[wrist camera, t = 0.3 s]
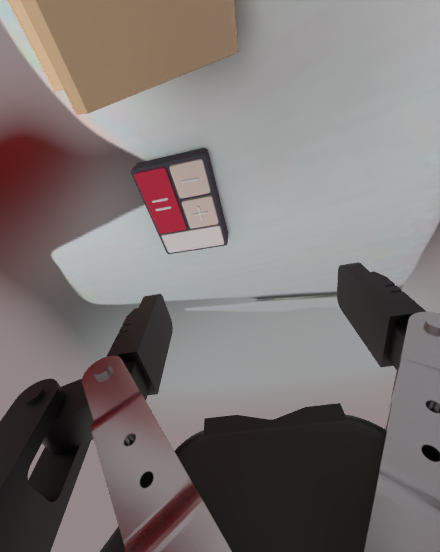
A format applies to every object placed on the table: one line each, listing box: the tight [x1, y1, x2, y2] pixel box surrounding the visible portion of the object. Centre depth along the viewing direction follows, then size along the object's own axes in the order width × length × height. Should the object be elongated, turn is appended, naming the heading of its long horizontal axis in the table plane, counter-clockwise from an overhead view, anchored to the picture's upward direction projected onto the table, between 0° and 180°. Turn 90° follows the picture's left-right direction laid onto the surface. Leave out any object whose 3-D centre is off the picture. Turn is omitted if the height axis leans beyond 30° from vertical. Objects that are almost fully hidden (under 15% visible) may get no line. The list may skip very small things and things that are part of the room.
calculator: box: [131, 148, 228, 254], centre depth 40 cm, size 11×4×15 cm
